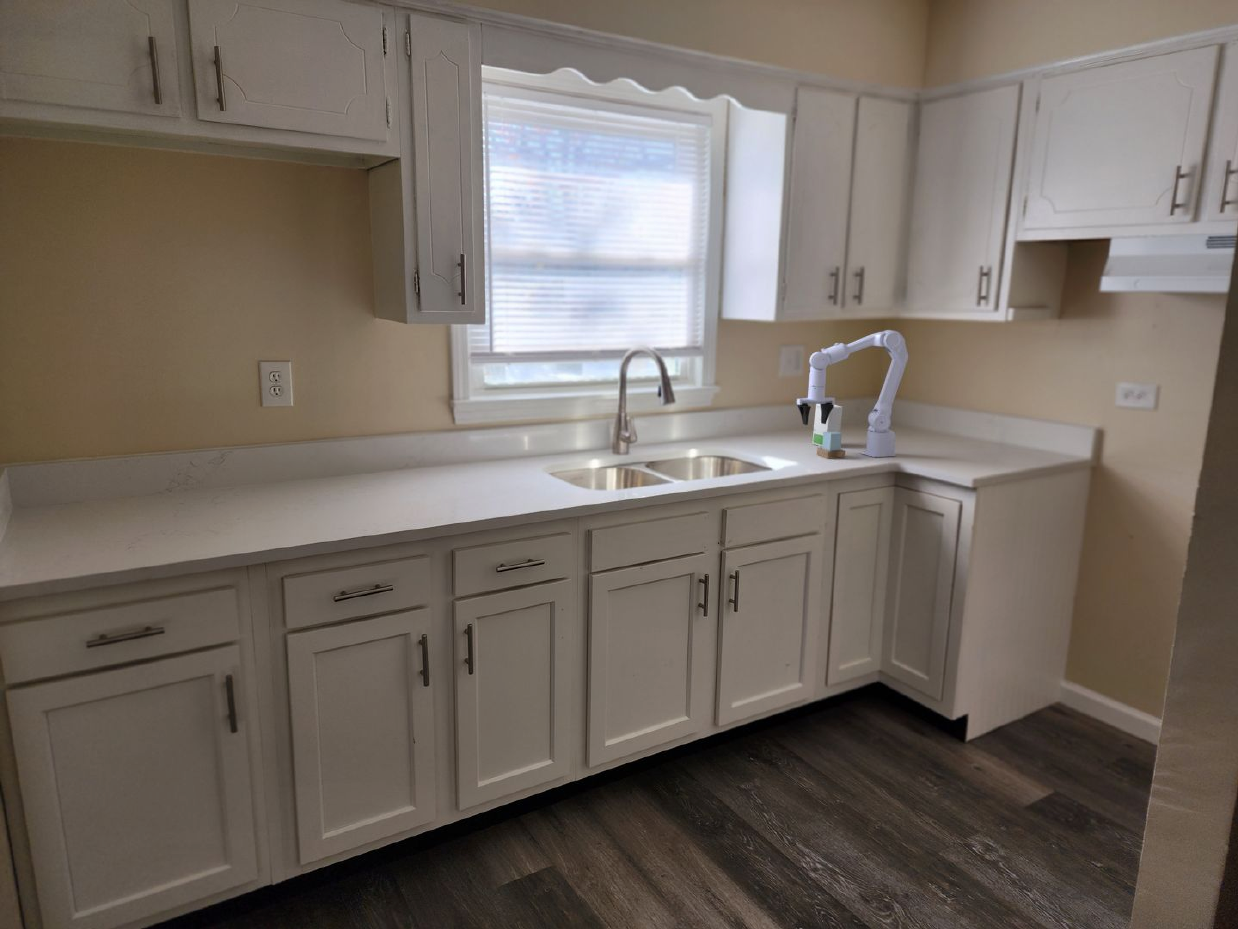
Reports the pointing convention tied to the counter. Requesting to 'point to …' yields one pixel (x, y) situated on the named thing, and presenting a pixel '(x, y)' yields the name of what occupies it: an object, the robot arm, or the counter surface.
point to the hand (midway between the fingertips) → (814, 424)
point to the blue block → (831, 440)
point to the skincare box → (831, 424)
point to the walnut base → (830, 453)
